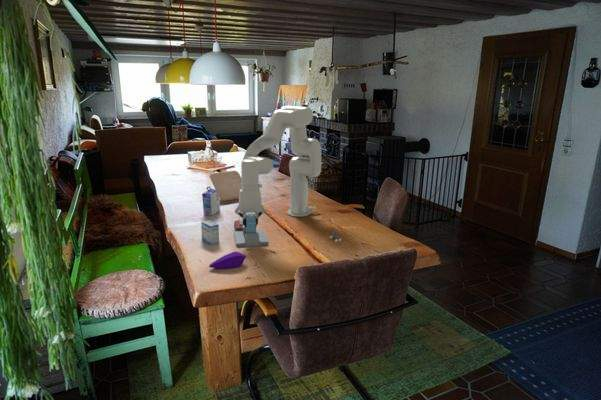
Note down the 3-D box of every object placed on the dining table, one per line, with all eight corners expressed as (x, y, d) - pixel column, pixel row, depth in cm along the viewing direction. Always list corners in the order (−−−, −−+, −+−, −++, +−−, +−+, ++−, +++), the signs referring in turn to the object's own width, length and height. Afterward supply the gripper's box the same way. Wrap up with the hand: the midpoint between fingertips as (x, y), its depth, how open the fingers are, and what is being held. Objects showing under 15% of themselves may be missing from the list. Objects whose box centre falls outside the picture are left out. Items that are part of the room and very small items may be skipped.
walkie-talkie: (253, 234, 191) (250, 220, 210) (253, 225, 190) (250, 212, 209) (235, 235, 190) (233, 221, 208) (235, 226, 188) (233, 213, 207)
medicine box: (201, 239, 182) (200, 221, 180) (210, 237, 185) (209, 219, 183) (211, 244, 177) (210, 226, 174) (219, 242, 180) (219, 224, 177)
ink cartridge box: (211, 209, 225) (210, 184, 220) (220, 210, 223) (219, 185, 219) (202, 214, 215) (201, 188, 211) (211, 216, 214) (211, 189, 210)
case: (221, 205, 234) (220, 178, 229) (204, 196, 249) (203, 171, 245) (250, 200, 246) (250, 174, 242) (233, 192, 262) (233, 168, 257)
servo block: (253, 225, 188) (253, 209, 185) (256, 233, 178) (256, 217, 176) (244, 226, 187) (244, 210, 185) (247, 234, 177) (247, 217, 175)
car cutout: (325, 239, 188) (325, 230, 187) (337, 237, 191) (337, 228, 190) (342, 251, 175) (342, 241, 174) (354, 248, 178) (355, 239, 177)
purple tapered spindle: (206, 258, 154) (243, 248, 161) (208, 269, 156) (244, 259, 162) (209, 263, 150) (247, 253, 156) (211, 274, 152) (248, 264, 158)
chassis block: (263, 232, 192) (263, 223, 191) (268, 244, 178) (268, 235, 177) (234, 234, 189) (234, 225, 188) (236, 246, 175) (236, 237, 174)
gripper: (267, 184, 182) (267, 222, 187) (230, 185, 178) (231, 224, 184) (270, 188, 175) (269, 228, 180) (231, 190, 171) (232, 230, 177)
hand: (250, 225), depth 182 cm, fingers closed on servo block, 4 cm apart
